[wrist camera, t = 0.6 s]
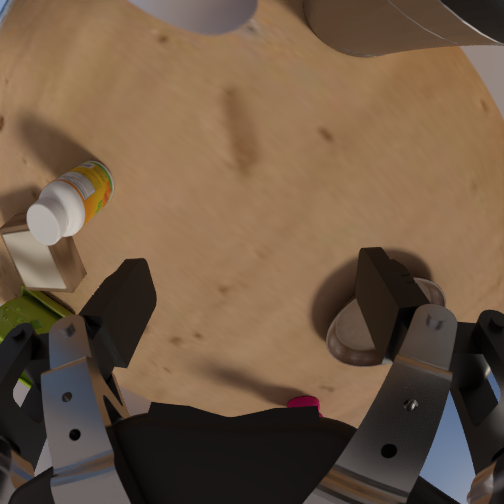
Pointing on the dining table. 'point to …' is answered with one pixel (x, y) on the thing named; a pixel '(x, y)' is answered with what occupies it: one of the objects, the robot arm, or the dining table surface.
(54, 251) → the pedestal
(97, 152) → the dining table surface
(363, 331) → the plant saucer
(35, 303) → the flower pot
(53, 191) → the supplement bottle
